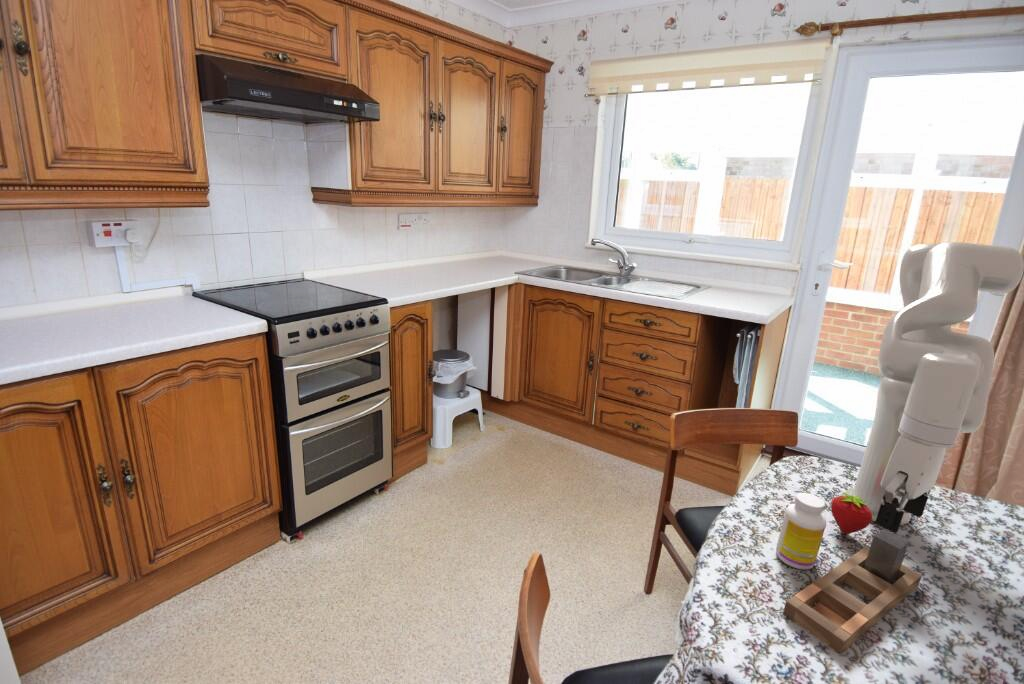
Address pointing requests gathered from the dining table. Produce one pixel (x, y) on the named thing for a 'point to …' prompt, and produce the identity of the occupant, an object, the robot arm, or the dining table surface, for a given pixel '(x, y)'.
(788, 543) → the supplement bottle
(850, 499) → the strawberry
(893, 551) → the peg
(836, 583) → the rack
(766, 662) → the dining table surface
